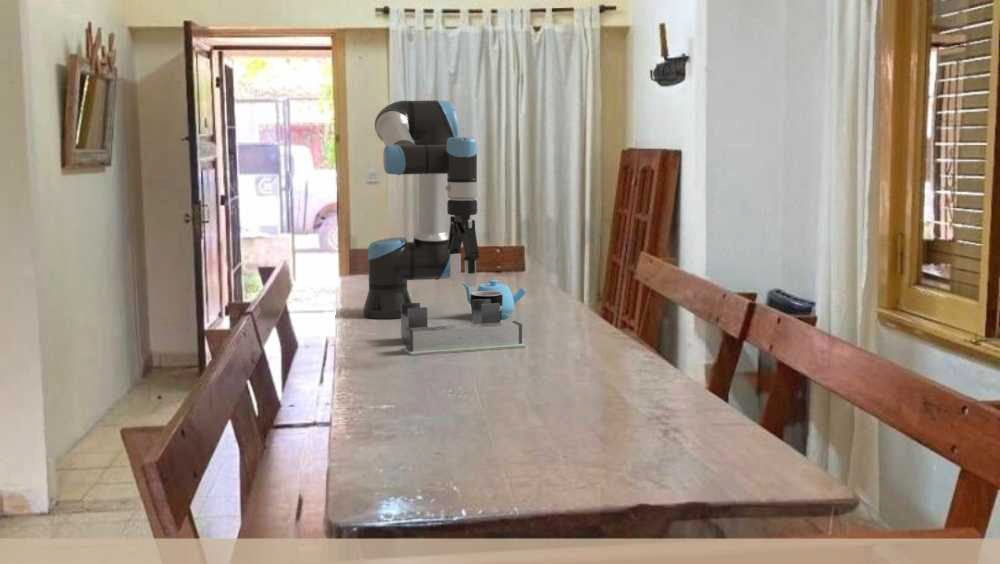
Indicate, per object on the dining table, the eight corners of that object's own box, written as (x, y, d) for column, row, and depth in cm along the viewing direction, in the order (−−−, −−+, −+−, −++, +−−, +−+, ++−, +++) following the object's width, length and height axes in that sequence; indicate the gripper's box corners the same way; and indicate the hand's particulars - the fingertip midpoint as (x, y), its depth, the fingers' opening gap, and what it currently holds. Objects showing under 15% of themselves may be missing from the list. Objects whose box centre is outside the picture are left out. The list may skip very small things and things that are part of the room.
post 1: (401, 338, 270) (400, 303, 269) (419, 337, 272) (418, 302, 270) (409, 344, 262) (408, 309, 260) (427, 343, 263) (427, 307, 262)
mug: (502, 331, 280) (502, 295, 278) (470, 331, 279) (470, 295, 278) (502, 323, 291) (502, 289, 290) (471, 324, 291) (471, 289, 290)
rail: (410, 351, 250) (409, 331, 250) (405, 347, 255) (405, 327, 255) (522, 343, 260) (522, 324, 259) (515, 340, 264) (515, 320, 264)
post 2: (472, 333, 276) (472, 299, 275) (489, 332, 278) (489, 298, 277) (482, 339, 268) (482, 304, 267) (500, 338, 269) (499, 303, 268)
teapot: (493, 323, 292) (493, 285, 290) (460, 318, 301) (459, 280, 300) (528, 316, 303) (528, 279, 302) (494, 311, 312) (494, 275, 311)
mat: (403, 348, 257) (403, 346, 257) (513, 340, 266) (513, 338, 266) (411, 355, 249) (411, 353, 249) (525, 347, 258) (525, 345, 258)
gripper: (435, 196, 263) (436, 276, 267) (461, 202, 240) (462, 290, 243) (462, 195, 266) (463, 275, 269) (491, 201, 242) (491, 288, 245)
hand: (462, 282), depth 256 cm, fingers open, 13 cm apart
